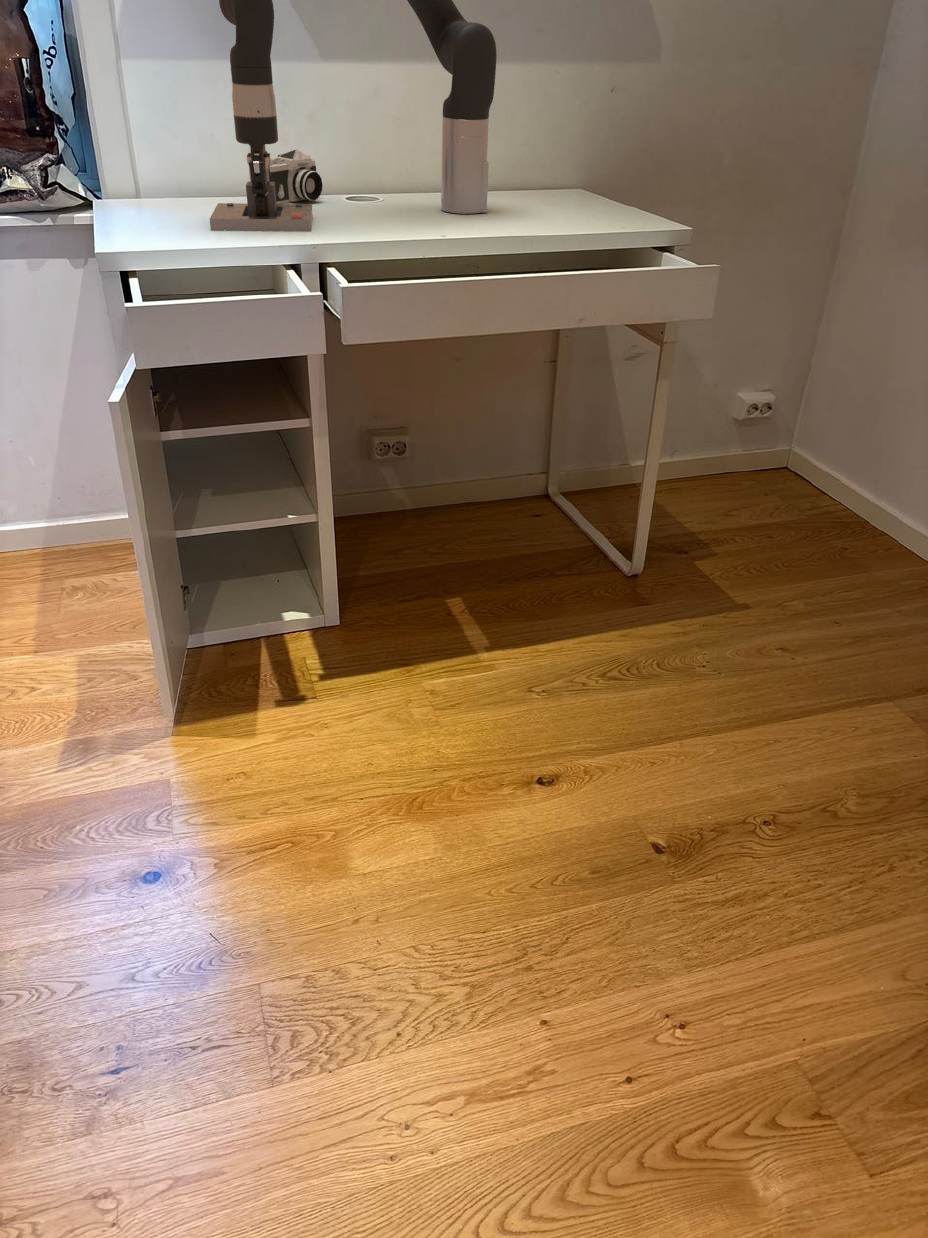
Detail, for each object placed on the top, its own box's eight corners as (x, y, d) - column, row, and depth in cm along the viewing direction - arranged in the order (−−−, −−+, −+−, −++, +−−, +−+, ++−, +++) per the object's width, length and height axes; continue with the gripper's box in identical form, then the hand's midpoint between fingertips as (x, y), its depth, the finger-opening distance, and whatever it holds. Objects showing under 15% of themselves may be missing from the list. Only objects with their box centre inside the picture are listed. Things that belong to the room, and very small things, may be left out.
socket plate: (312, 217, 185) (311, 200, 183) (311, 234, 172) (310, 215, 170) (219, 216, 182) (217, 199, 181) (211, 233, 170) (209, 214, 168)
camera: (282, 209, 191) (278, 155, 186) (253, 203, 195) (248, 150, 190) (335, 199, 202) (333, 148, 197) (306, 194, 206) (303, 143, 201)
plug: (277, 215, 179) (274, 172, 175) (276, 220, 175) (272, 176, 171) (250, 215, 178) (246, 172, 174) (249, 220, 174) (245, 176, 170)
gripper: (274, 117, 161) (282, 223, 171) (278, 108, 173) (285, 208, 183) (229, 116, 161) (240, 222, 170) (236, 108, 172) (246, 207, 182)
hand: (263, 214), depth 176 cm, fingers closed on plug, 4 cm apart
